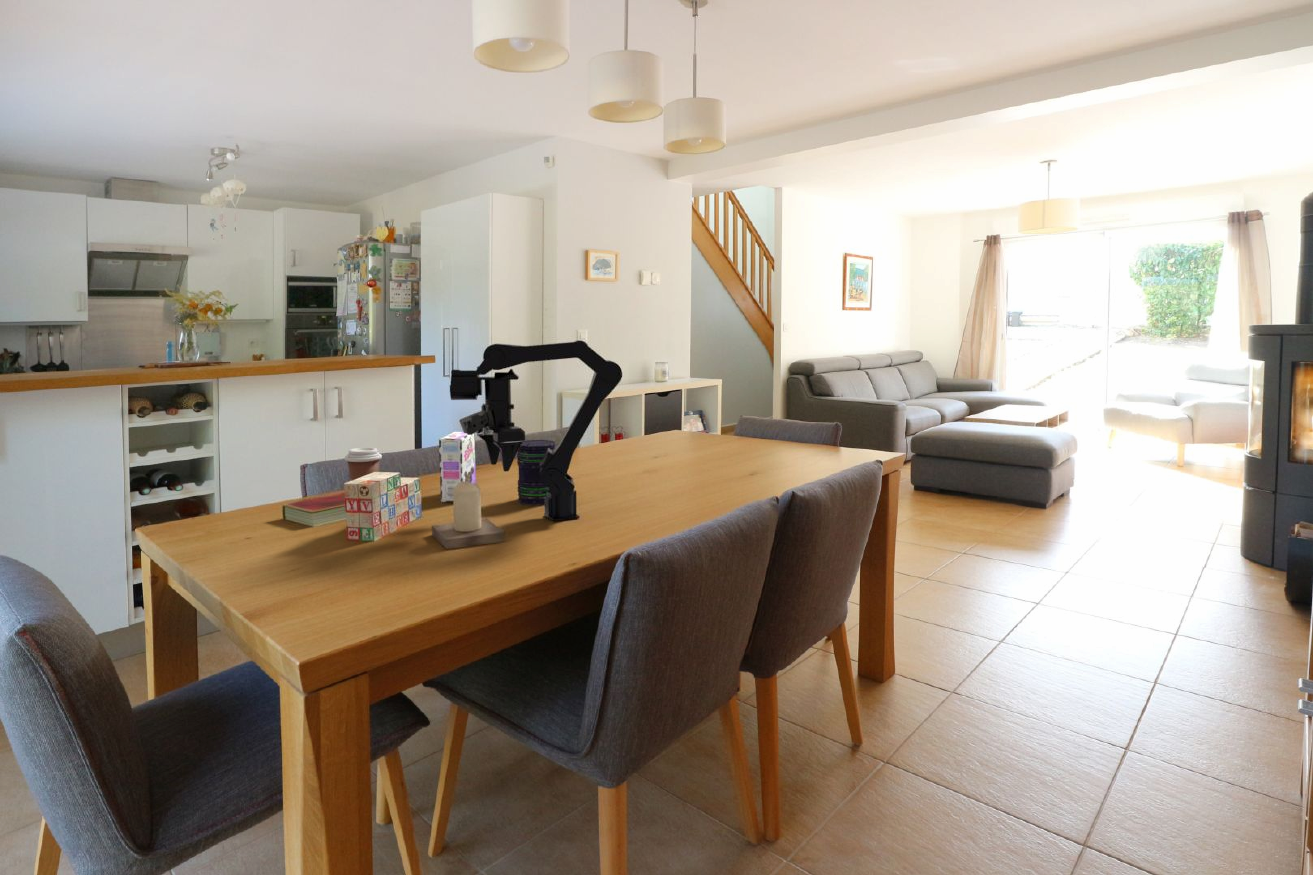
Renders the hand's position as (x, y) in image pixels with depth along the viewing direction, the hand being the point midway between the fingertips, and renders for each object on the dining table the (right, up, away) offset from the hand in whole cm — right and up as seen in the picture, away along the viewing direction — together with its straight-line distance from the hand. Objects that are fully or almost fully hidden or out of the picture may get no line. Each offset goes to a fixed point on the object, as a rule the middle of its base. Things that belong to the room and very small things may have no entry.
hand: (499, 467), depth 172 cm
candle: (-4, -12, -14) cm, 19 cm away
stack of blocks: (-24, -13, -6) cm, 28 cm away
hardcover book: (-39, -12, +6) cm, 41 cm away
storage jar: (+5, -9, +20) cm, 23 cm away
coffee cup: (-41, -8, +26) cm, 49 cm away
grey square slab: (-4, -14, -14) cm, 20 cm away
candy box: (-15, -9, +24) cm, 30 cm away
